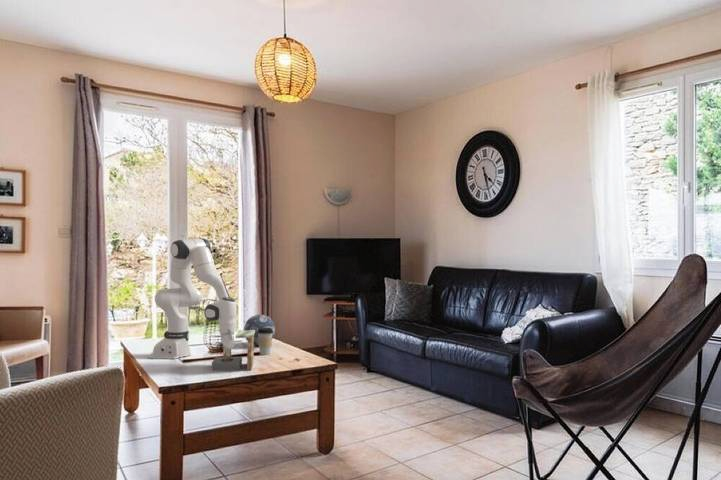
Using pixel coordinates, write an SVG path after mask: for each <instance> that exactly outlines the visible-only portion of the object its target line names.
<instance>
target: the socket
mask: <svg viewBox="0 0 721 480" xmlns="http://www.w3.org/2000/svg"><path fill="white" fill-rule="evenodd" d="M242 364H243V357H242V356H231V361H223V356H222V357H221V356H220V357H218V356H217V357H214V359H213V361H212V362H211V371H240V370H241V367H242Z"/></svg>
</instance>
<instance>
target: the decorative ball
mask: <svg viewBox="0 0 721 480" xmlns="http://www.w3.org/2000/svg"><path fill="white" fill-rule="evenodd" d="M243 326H244V328H243V330H255V333H254V347H259V342H258V333H257V332H258V330H259V329H260V328H272V330H273V333H272V340H273V339H274V337H275V333H276V326H275V323H274V320H272V319H271V317H270V316H268V315H265V314H255V315H252V316H250V317H249V318H248V319H247V320H246V322H245V324H244V325H243ZM245 340H246V341H247V342H248V338H245Z"/></svg>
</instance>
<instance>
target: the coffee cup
mask: <svg viewBox="0 0 721 480" xmlns="http://www.w3.org/2000/svg"><path fill="white" fill-rule="evenodd" d="M257 333H258V342H259V346H258V350H259V355H260V356H268V355H270V354H271V348H272V341H273V339H272V333H273V330H272V328H260V329H259V330H258V332H257Z"/></svg>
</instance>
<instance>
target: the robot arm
mask: <svg viewBox="0 0 721 480" xmlns="http://www.w3.org/2000/svg"><path fill="white" fill-rule="evenodd" d="M211 249H212V248H211V243H210V241H209V240H208V239H206V238H203V237H200V238H192V237H191V238H186V239H178V240H174V241H173V242H172V243H171V245H170V254H171V255H172V256H171V262H170V273H169V274H170V275H169V278H170V280H171V281H172V282H173V283H175V284H177V285H179V287H178V288H177V287H176V288H175V287H174V288H164V289H160V290H158V291H157V292H156V294H155V295H154V302H155V305H156V306H157V307H158V308H160V309H161V310H163V312H164V313H165V316H166V318H167V330H165V331H164V333H163V337H164V338H162V339H161V340H160V341H158V342H157V343H155V345H154V346H153V350H152V352H151V353H149V354H148V358H149V359H156V360H157V359H159V360H160V359H162V360H163V359H165V360H167V359H168V360H176V359H179V357H181V358H184V357H183V356H186V357H189V356H190V355H191V351H190V347H189V345H190V344H189V340H190V332H189V318H188V316H187V315H186V313H185V314H184V313H183V312H180V311H179V308H187V307H189V308H190V307H193V306H194V307H195V306H197V305H199V304H200V303H201V301H202V293H201V291H200V289H198V288H197V287H196V286H195V285H194V284H193V282H192V266H193V272H194V275H195V276H196V279H197V280H199V281H200V282H202V283H204V284H207V285H209V286H211V287H212V288H213V289H214V290H215V293H216V296H217V298H218V301H214V302H213V303H209V304H207V305H206V306H205V308H204V313H203V314H204V318H205V319H206V320H207V321H208V322H218V323H219V324H218V332H219V333H220V342H221V344H222V346H223V347H224V346H225V347H226V350H227V352H226V355H227V356H230V351H231V352H232V350H234V349H235V333H236V332H237V315H238V313H237V311H238V309H237V302H236V299H235V298H232V297H231V296H230V294H229V291H228V288H227V285H226V283H225V281H224V278H223V277H222V275H221V274H220V273H219V272H218V270H217V268H216V264H215V262H214V261H215V260H214V257H213V255H212V253H211ZM188 355H189V356H188Z"/></svg>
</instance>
